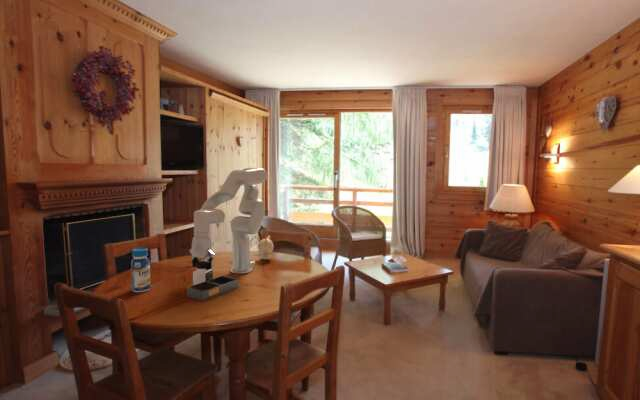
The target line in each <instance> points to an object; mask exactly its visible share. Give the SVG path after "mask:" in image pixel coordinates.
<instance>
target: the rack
mask: <svg viewBox="0 0 640 400" xmlns="http://www.w3.org/2000/svg"><path fill="white" fill-rule="evenodd" d="M238 288H239V279H238V278H234V277H231V276H226V275H219V276H217V277H214V278H213V279H211V280H208V281H205V282H202V283H199V284H196V285H193V284H192V285H190V286H187V287H186V297H189V298H192V299H195V300H198V301H199V300H200V301H202V302H205V301H207V300H210V299H212V298H215V297H218V296H220V295H222V294H225V293H228V292H230V291H232V290H235V289H238Z"/></svg>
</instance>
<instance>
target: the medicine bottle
mask: <svg viewBox="0 0 640 400" xmlns="http://www.w3.org/2000/svg"><path fill="white" fill-rule="evenodd" d="M206 262H207V261H206V259H202V260H201V259H200V260H198V262H197V263H196V267H195V268H196V269H195V271H192V286H193V285H196V284H199V283H202V282H205V281H208V280H211V279H214V278H213V268H212V269H210V270H206Z"/></svg>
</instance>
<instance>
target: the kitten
mask: <svg viewBox="0 0 640 400" xmlns="http://www.w3.org/2000/svg"><path fill="white" fill-rule="evenodd" d="M274 247H275V246H274V243H273V241H272V240H271V235H268V236H267V237H265V238H263V239H260V241H259V242H258V244H257V249H258V252H259V253H260V260H261V259H262V260H263V261H267V260H271V258H272V252H273V251H274Z"/></svg>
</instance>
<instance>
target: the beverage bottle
mask: <svg viewBox="0 0 640 400" xmlns="http://www.w3.org/2000/svg"><path fill="white" fill-rule="evenodd" d="M131 251H132V252H131V253H132V254H131V255H132V259H131V263H130V266H131V268H130V272H131V291H132V292H133V293H144V292H148V291H150V290H151V287H152V286H151V266H150V263H151V261H150V258H149V257H147V256H148V255H149V249H148V247H138V248H133V249H132V250H131Z"/></svg>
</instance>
